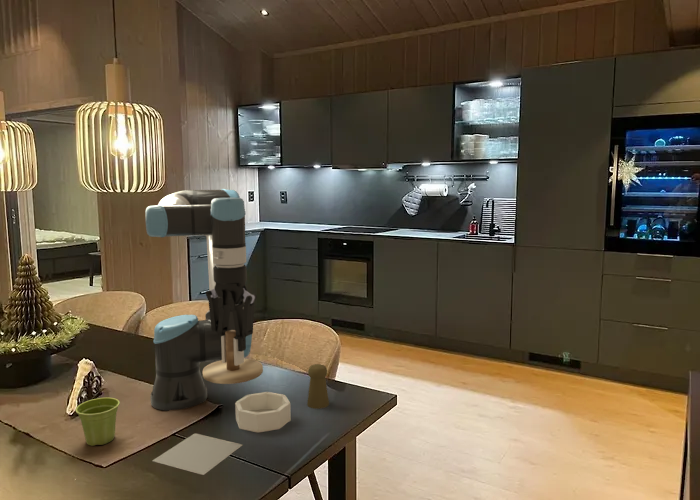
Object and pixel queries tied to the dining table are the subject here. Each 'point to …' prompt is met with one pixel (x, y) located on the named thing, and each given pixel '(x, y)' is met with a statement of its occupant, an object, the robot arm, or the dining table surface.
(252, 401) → the bowl
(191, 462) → the mat
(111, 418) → the plant pot
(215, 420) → the dining table surface
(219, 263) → the robot arm
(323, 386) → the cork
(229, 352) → the lid
